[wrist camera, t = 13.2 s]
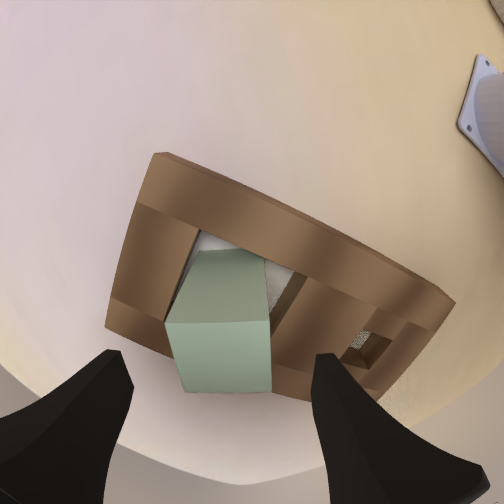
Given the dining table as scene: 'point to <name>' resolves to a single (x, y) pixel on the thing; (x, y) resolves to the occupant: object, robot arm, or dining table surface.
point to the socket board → (296, 292)
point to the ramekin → (498, 8)
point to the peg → (222, 324)
